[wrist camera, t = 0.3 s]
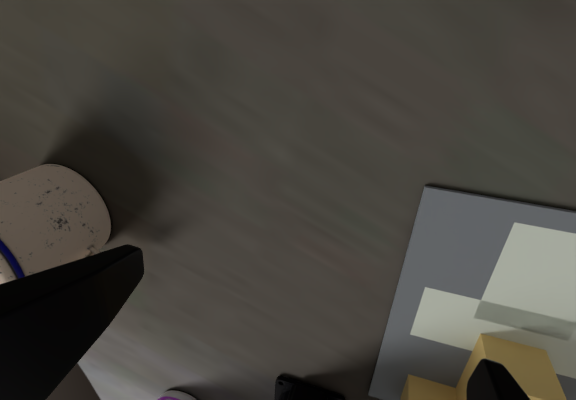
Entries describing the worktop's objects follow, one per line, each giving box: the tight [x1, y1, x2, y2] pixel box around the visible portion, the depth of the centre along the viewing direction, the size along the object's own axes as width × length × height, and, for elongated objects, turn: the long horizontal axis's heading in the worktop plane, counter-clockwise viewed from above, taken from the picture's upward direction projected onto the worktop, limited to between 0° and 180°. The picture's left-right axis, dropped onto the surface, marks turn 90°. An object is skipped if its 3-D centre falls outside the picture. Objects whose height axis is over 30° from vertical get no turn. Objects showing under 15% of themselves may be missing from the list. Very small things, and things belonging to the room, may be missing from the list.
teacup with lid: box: [0, 164, 111, 284], centre depth 26 cm, size 12×9×12 cm
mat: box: [368, 185, 576, 400], centre depth 24 cm, size 20×16×1 cm
